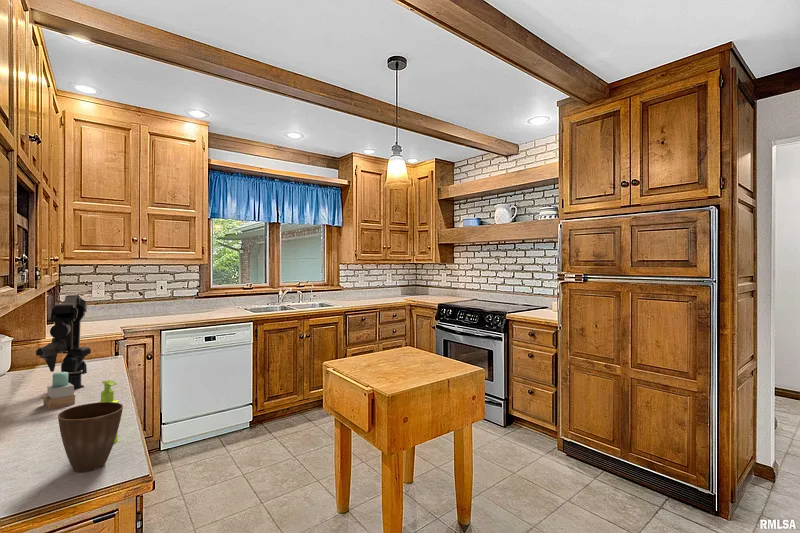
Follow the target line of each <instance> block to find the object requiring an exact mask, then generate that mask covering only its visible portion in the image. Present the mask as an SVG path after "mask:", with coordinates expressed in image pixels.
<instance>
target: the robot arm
mask: <svg viewBox="0 0 800 533" xmlns="http://www.w3.org/2000/svg"><path fill="white" fill-rule="evenodd" d="M87 311H88V304H87V301H86V300H85V299H83V298H82V297H81V296H80V295H79V294H68V295H65V298H64V300H63V301H62V303H56V304H54V306H53V307H52V308H51V315H50V319H49V322H50V323H54V325H53V326H51V328H50V329H49V334H50V336H51V337H52V339H51V342H50V343H48V344H46V345H45V346H42V347H39V348H37V349H36V351H35V356H37V357H39V358H41V359H42V360H44V361H45V362H46V364H47V366H48V369H49V371H50V373H53V372H54V371H55V369H56V364H57V363H56V362H57V357H58V354H64V355H65V354H66V356H65V357H64V358H63V359H62V363H61V364H60V372H68V382H69V383H71V384H72V385H74V390H75V389H79V388H84V387H85V385H83V384H82V375H85V374H87V373H88V368H87V364H86V362H85V360H84V359H85V357H87V356H88V355H91V353H92V350H91V349H92V348H90V347H89V346H87V347H86V346H85V347H84V346H80V344H81V322H82V320H83V319H84V318H85V316H86V312H87Z"/></svg>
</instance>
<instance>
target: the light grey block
mask: <svg viewBox="0 0 800 533" xmlns="http://www.w3.org/2000/svg"><path fill="white" fill-rule="evenodd" d="M46 388H47V392H46V393H47V394H46V396H48V397H50V398H51V399H56V398H62V397H67V396H72V395H75V389H74V385H72V384H71V383H69V382H68V385H67V386H63V387H52V384H51V385H47V387H46Z"/></svg>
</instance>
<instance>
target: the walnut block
mask: <svg viewBox="0 0 800 533" xmlns="http://www.w3.org/2000/svg"><path fill="white" fill-rule="evenodd" d="M42 402H43V403H42V404H43V406H44V407H46V408H47V409H49V410H54V409H58V408H62V407H68V406H72V405H75V404H76V395H75V394H74V395H72V396H67V397H62V398H56V399H51V398H50V397H48V396H47V395H43V401H42Z"/></svg>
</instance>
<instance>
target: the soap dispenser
mask: <svg viewBox="0 0 800 533" xmlns="http://www.w3.org/2000/svg"><path fill="white" fill-rule="evenodd" d="M102 384H104V386H103V390H102V391H100V401H99V402H116V403H119V400H118V399H114V398H115V397H114V396H115V393H114V392H115V391H114V390H113V389H112V387H111V386H116V385H118V384H117V382H116V381H114V380H110V379H108V380H103V381H102ZM118 431H119V430H118ZM118 431H117V435H116V438H115V441H114V444H116V443H117V442H118V436H119V435H118ZM115 442H116V443H115Z"/></svg>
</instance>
